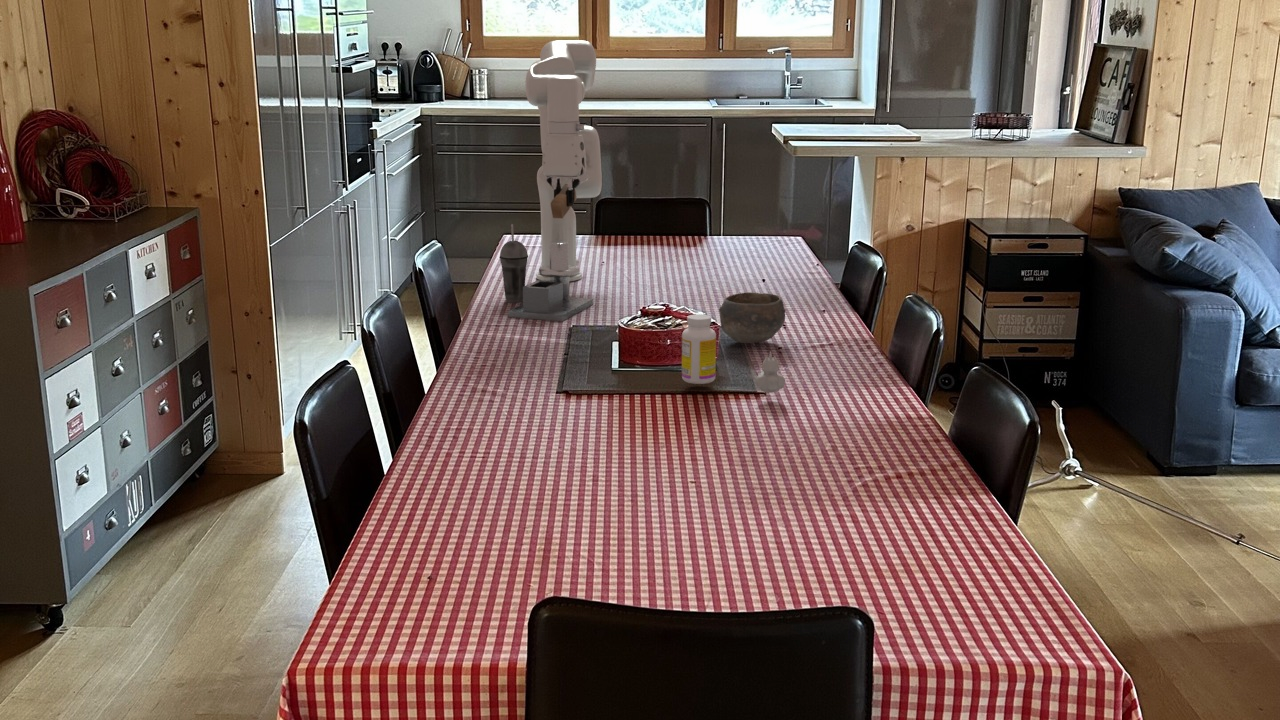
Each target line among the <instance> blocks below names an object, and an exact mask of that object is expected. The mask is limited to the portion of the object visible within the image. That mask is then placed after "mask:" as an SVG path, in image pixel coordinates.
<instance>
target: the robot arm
mask: <svg viewBox="0 0 1280 720" xmlns="http://www.w3.org/2000/svg"><path fill="white" fill-rule="evenodd" d="M539 56H540V57H539V58H540V59H539V60H536V61H535V62H533V63H532V64H531V65H530V66H529V69H528V70H527V72H526V76H525V95H526V99H527V101H528V104H530V105H531V106H533V107H537V108H538V112H539V125H540V146H541V152H542V162H541V164H542V165H541V166H540V167H539V169H538V170H537V174H536V183H537V184H536V185H537V188H538V194H539V204H540V230H541V231H540V237H541V239H540V241H541V244H540V245H541V267H544V266H550V264H549V243H550V242H568V243H569V265H570V266H576V267H578V266H579V265H580V261H579V259H578V258H577V218H576V212H575V210H574V208H572V206H573V205H574V203H575V202H576V201H575V194H574V189H575V191H576V197H577V199H588V198H589V199H592V198H596V197H598V196H599V195H600V194H601V192H602V187H603V179H602V178H603V177H602V176H603V174H602V160H601V158H602V157H601V142H600V137H599V133H598V131H597V129H596V128H595V127H593V126H591V125H585V124H581V122H580V113H579V111H580V108H579V106H580V104H581V103H582V101H583V100H584V99H585V96H586V95H585V93H586V92H587V91H589V90H591V89H592V87H593V85H594V83H595V74H596V68H597V67H596V66H597V55H596V50H595V48H594V46H593V44H592V43H591V42H590V41H588V40H587V41H586V40H567V39H566V40H564V39H563V40H562V39H561V40H551V41H549V42H547V43H545V44H544V46H543V47H542V48H541V49H540V55H539ZM565 184H568V187H567V190H566V199H567V207H569V206H571V208H570V209H569V210H568V212H567V213H566V214H565V216H564V217H563V219H562V218H553V215H552V210H551V204H550V203H551V202H552V201H553V199H554V198H555V197H556V195H557V194H559V193H560V191H561V190H562V187H563V186H564V185H565ZM574 201H575V202H574ZM535 277H536V279H537V280H542V281H550V277H546V276H542V275H540V274H539V272H537V273H536V276H535ZM582 278H583V273H582V272H580V271H579V275H576V276H571V277H569V282H576V281H579V280H581V279H582Z"/></svg>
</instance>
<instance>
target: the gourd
mask: <svg viewBox="0 0 1280 720" xmlns="http://www.w3.org/2000/svg"><path fill="white" fill-rule="evenodd" d="M779 365H780V364H779V361H778V359H777V357H776V355H774V356H773V355H772V352H771V350H770V351H769V356H768V355H766V356H765V358H764V360H763V362H762V368H761V369H762V371H761V372H760V373H759V374H758V375H757V376H756V378H755V385H756V387H757V389H759V390H760V391H762V392H764V393H768V394H769V393H776V392H779V391H780V390H783V388H784V387H785V382H786V379H785V377H784V375H782V374H780V373H779Z"/></svg>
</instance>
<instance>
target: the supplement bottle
mask: <svg viewBox="0 0 1280 720" xmlns="http://www.w3.org/2000/svg"><path fill="white" fill-rule="evenodd" d="M686 323H687V328H685V329H684V330H683V332H682V333H681V378H682V380H683V381H684V382H685V383H688V384H694V385H695V384H697V385H705V384H710V383H713V382H714V381H715V380H716V376H717V375H716V371H717V370H716V369H717V367H716V363H717V361H716V360H717V359H716V358H717V357H716V356H717V333H716V331H715V330H714V329H713V328H711V324H712V316H711V315H707V314H697V313H695V314H690V315H689V314H688V316H687V318H686Z"/></svg>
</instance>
